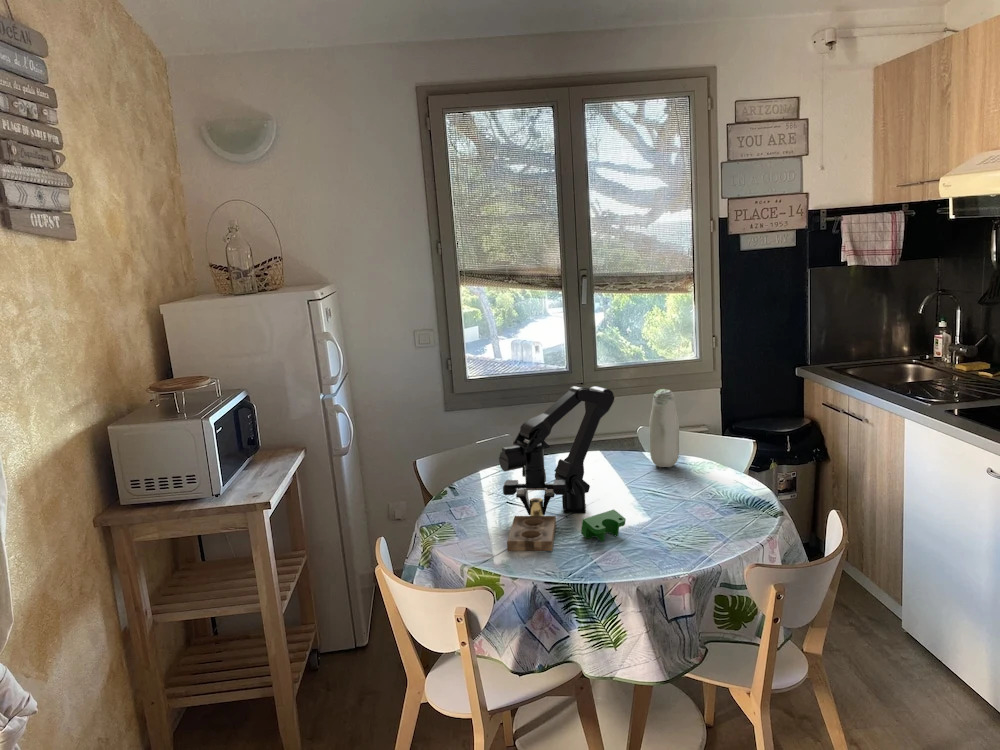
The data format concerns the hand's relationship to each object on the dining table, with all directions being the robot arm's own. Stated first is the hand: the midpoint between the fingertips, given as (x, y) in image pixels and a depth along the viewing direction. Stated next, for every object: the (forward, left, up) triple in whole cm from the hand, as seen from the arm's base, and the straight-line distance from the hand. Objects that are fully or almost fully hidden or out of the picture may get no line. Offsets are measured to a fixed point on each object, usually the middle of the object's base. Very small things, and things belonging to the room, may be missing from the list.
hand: (536, 514), depth 219 cm
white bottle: (-41, -48, -2) cm, 63 cm away
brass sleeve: (0, 0, -2) cm, 2 cm away
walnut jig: (0, +14, -2) cm, 14 cm away
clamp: (-20, +12, -2) cm, 23 cm away
